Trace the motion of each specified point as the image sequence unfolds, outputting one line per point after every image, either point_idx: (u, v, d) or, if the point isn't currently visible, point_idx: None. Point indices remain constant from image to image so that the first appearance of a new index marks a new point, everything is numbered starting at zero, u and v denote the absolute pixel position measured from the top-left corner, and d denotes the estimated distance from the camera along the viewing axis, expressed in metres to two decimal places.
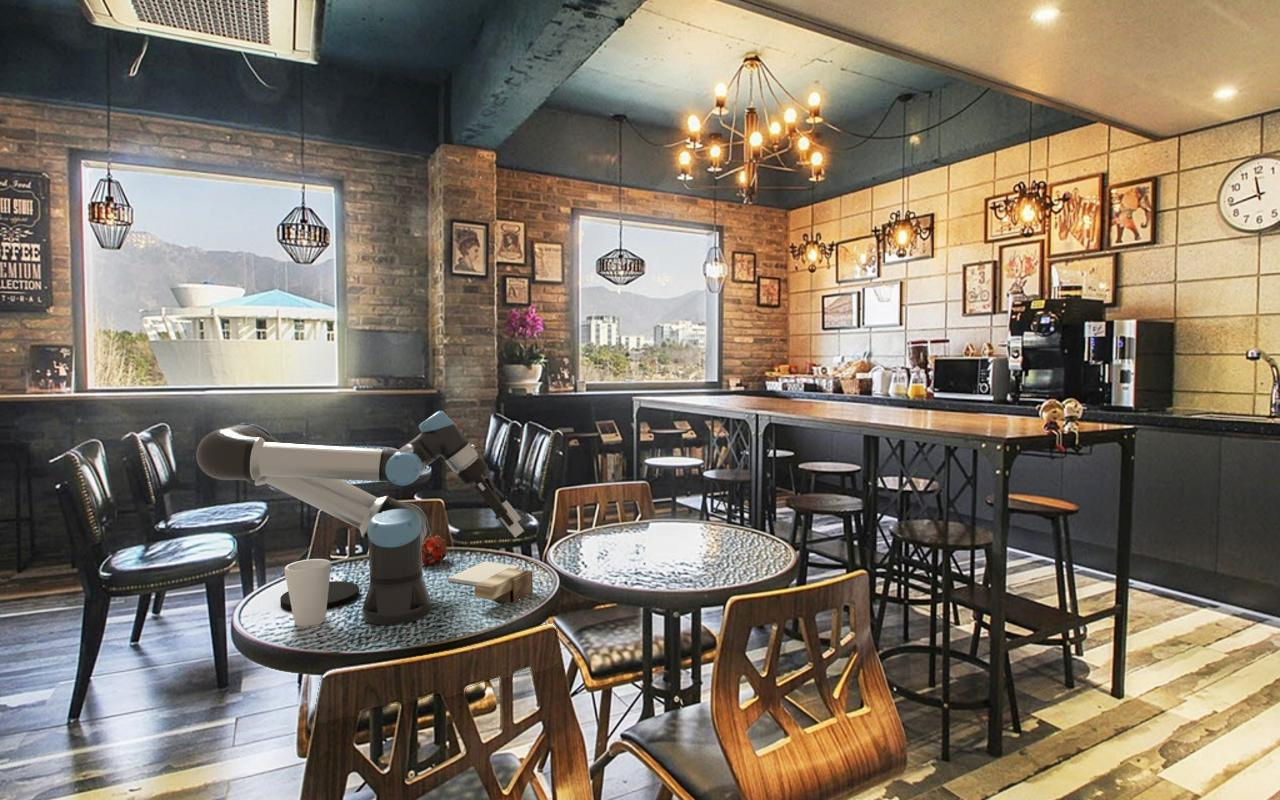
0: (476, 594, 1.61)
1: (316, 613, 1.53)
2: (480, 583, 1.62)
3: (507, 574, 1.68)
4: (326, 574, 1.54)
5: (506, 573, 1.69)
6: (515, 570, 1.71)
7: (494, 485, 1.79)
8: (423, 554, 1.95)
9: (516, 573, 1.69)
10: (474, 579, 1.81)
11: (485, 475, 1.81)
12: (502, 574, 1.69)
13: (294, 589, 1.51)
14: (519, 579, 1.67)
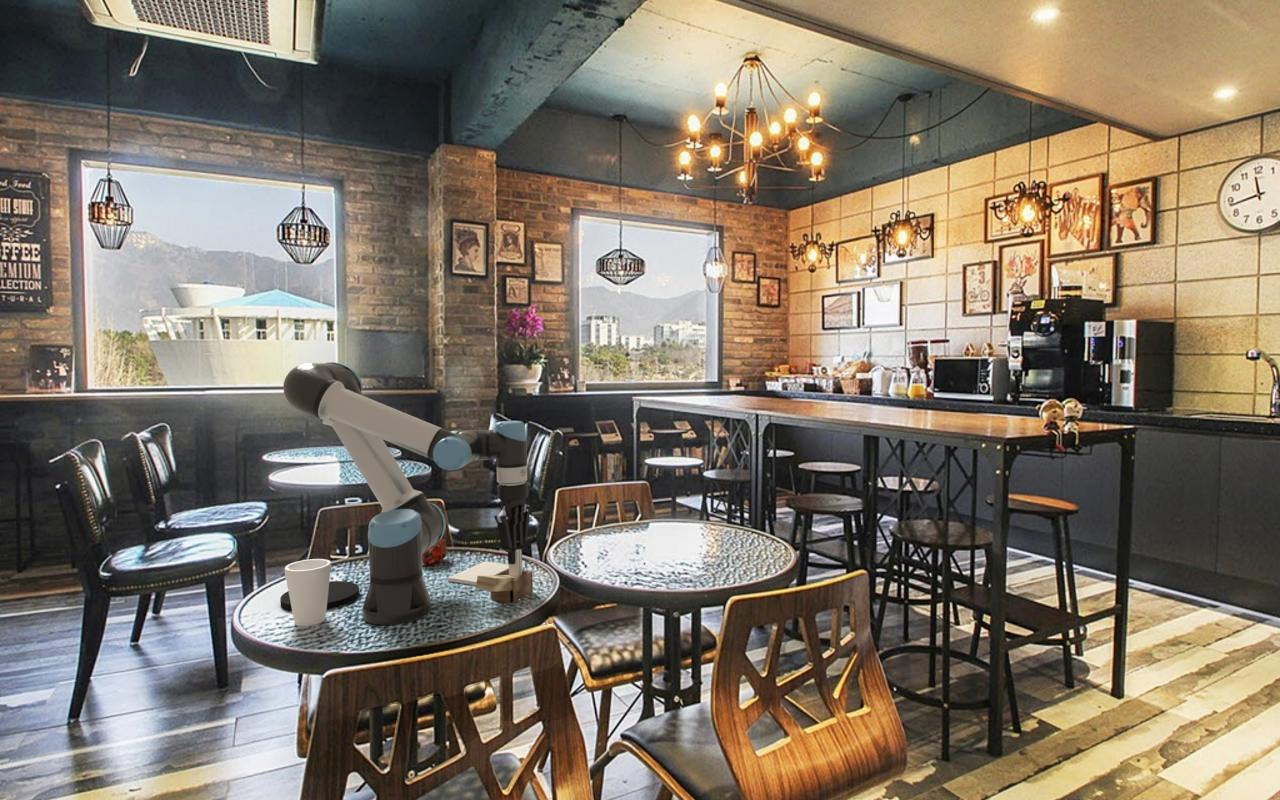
0: (477, 586, 1.61)
1: (316, 613, 1.53)
2: (482, 576, 1.63)
3: (509, 576, 1.69)
4: (326, 574, 1.54)
5: (508, 576, 1.70)
6: None
7: (521, 519, 1.71)
8: (423, 554, 1.95)
9: None
10: (474, 579, 1.81)
11: (529, 508, 1.75)
12: None
13: (294, 589, 1.51)
14: (519, 579, 1.67)
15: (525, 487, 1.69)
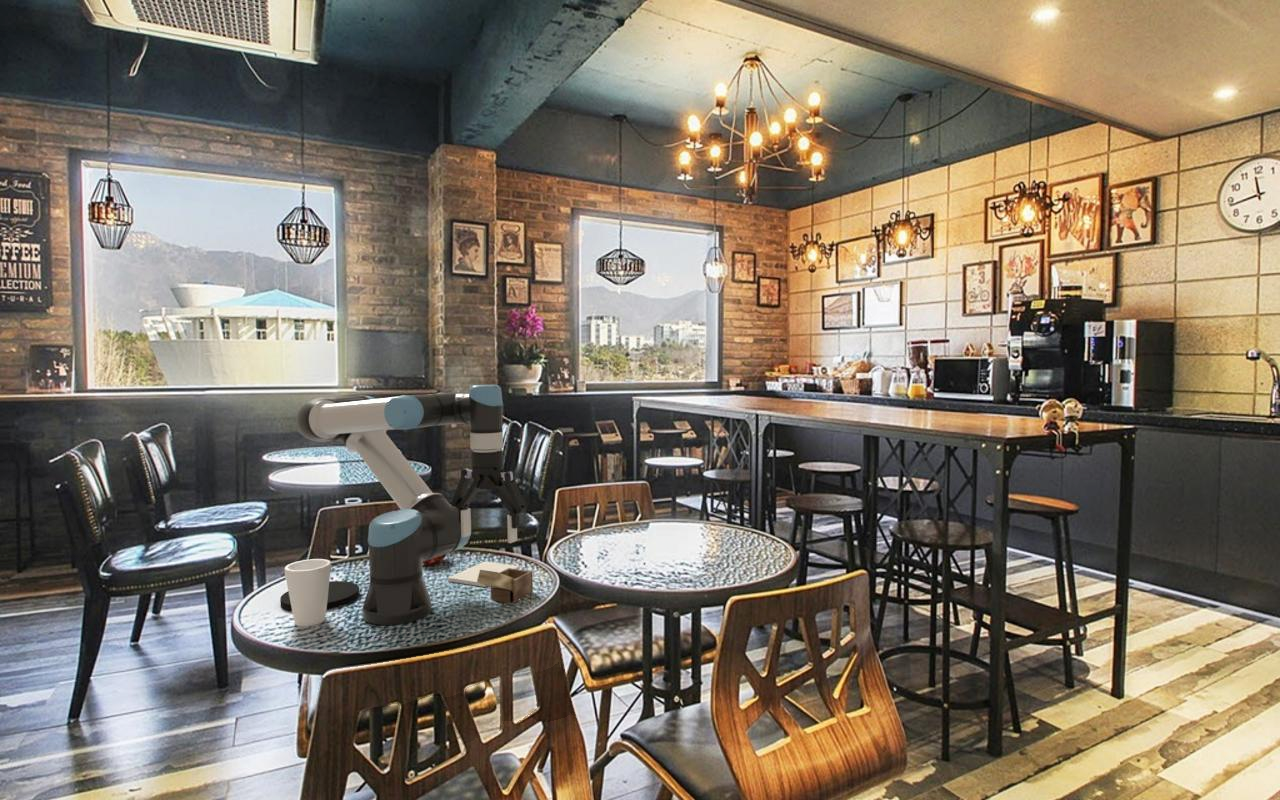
0: (478, 579, 1.62)
1: (316, 613, 1.53)
2: None
3: None
4: (326, 574, 1.54)
5: None
6: None
7: None
8: None
9: None
10: (474, 579, 1.81)
11: None
12: None
13: (294, 589, 1.51)
14: (519, 579, 1.67)
15: None
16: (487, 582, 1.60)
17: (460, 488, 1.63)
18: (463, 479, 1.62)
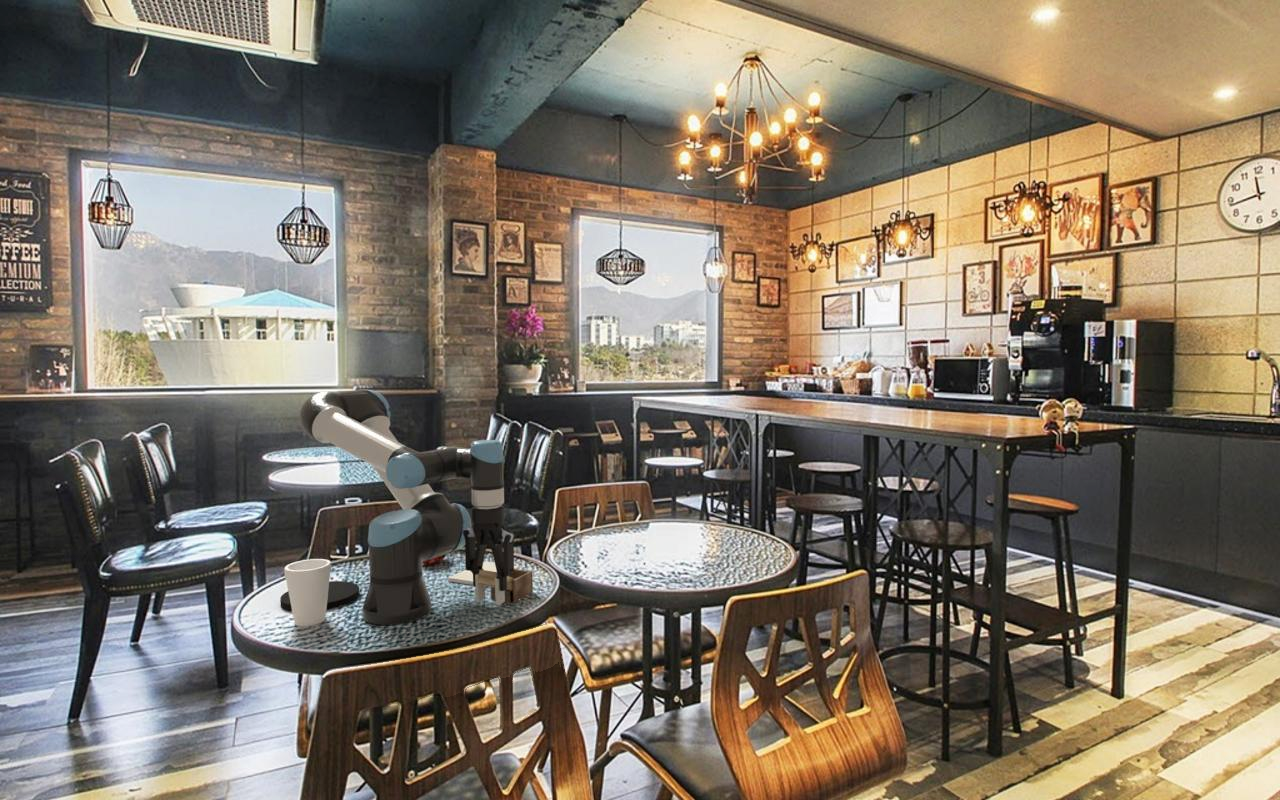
0: (478, 579, 1.62)
1: (316, 613, 1.53)
2: None
3: None
4: (326, 574, 1.54)
5: None
6: None
7: None
8: None
9: None
10: None
11: None
12: None
13: (294, 589, 1.51)
14: (519, 579, 1.67)
15: None
16: (487, 582, 1.60)
17: (468, 549, 1.63)
18: (467, 539, 1.63)
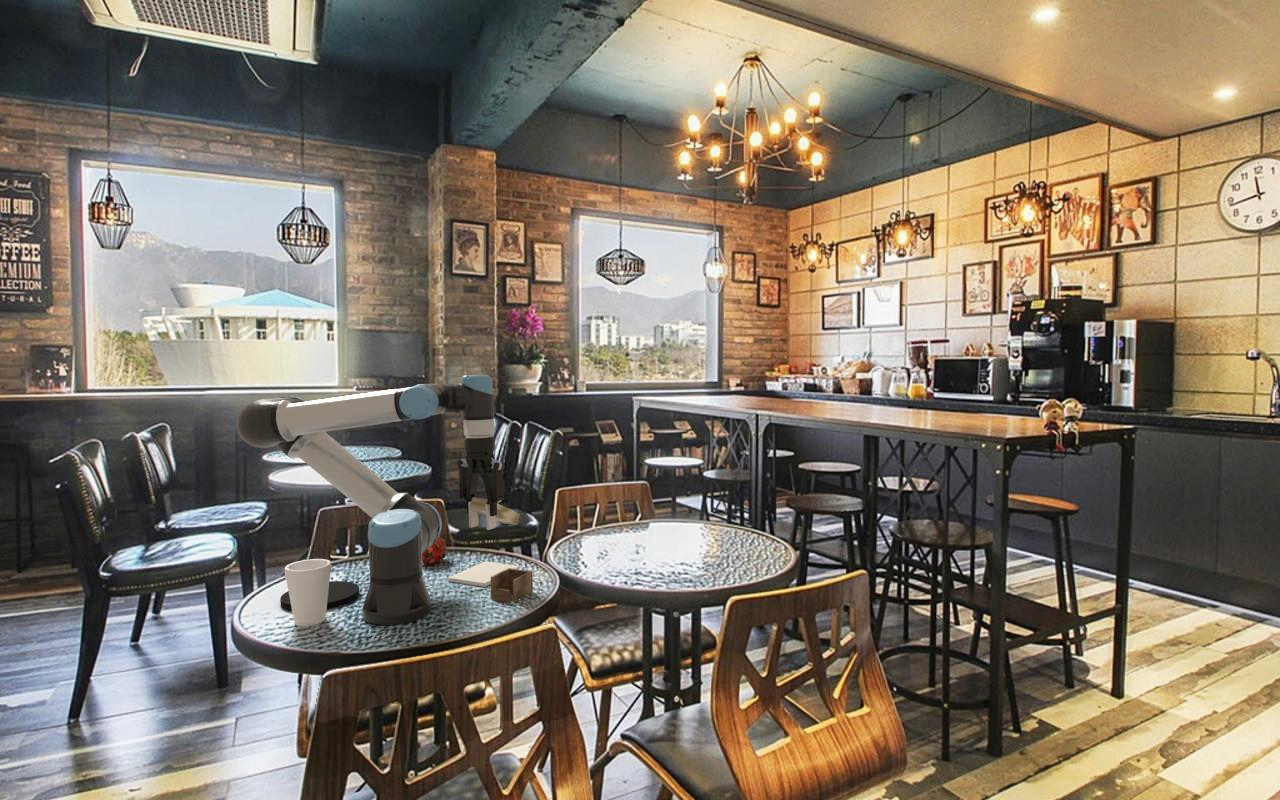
0: (471, 506, 1.71)
1: (316, 613, 1.53)
2: None
3: None
4: (326, 574, 1.54)
5: None
6: None
7: None
8: (423, 554, 1.95)
9: None
10: (474, 579, 1.81)
11: None
12: None
13: (294, 589, 1.51)
14: (519, 579, 1.67)
15: None
16: (478, 508, 1.70)
17: (462, 478, 1.73)
18: (461, 468, 1.73)
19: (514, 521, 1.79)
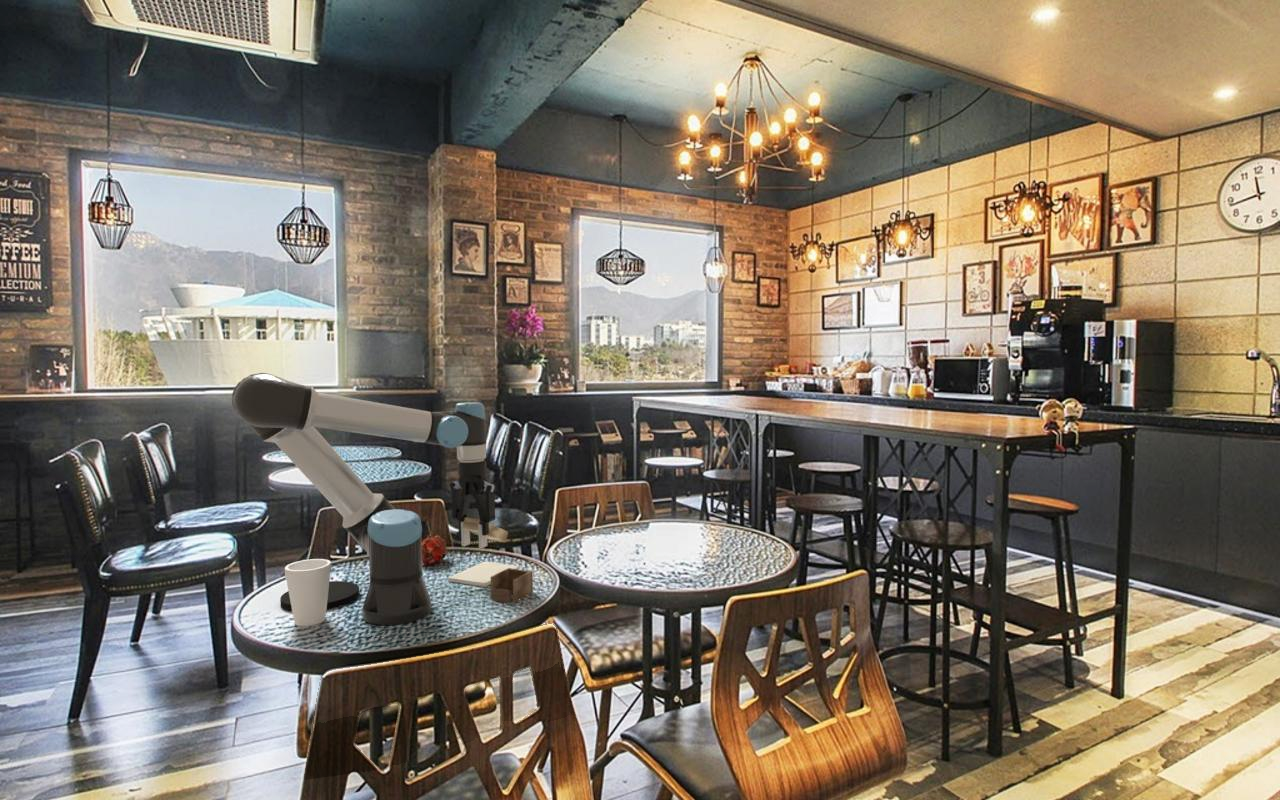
0: (464, 526, 1.82)
1: (316, 613, 1.53)
2: None
3: None
4: (326, 574, 1.54)
5: None
6: None
7: None
8: (423, 554, 1.95)
9: None
10: (474, 579, 1.81)
11: None
12: None
13: (294, 589, 1.51)
14: (519, 579, 1.67)
15: None
16: (471, 528, 1.81)
17: (454, 499, 1.83)
18: (453, 490, 1.83)
19: (503, 539, 1.90)
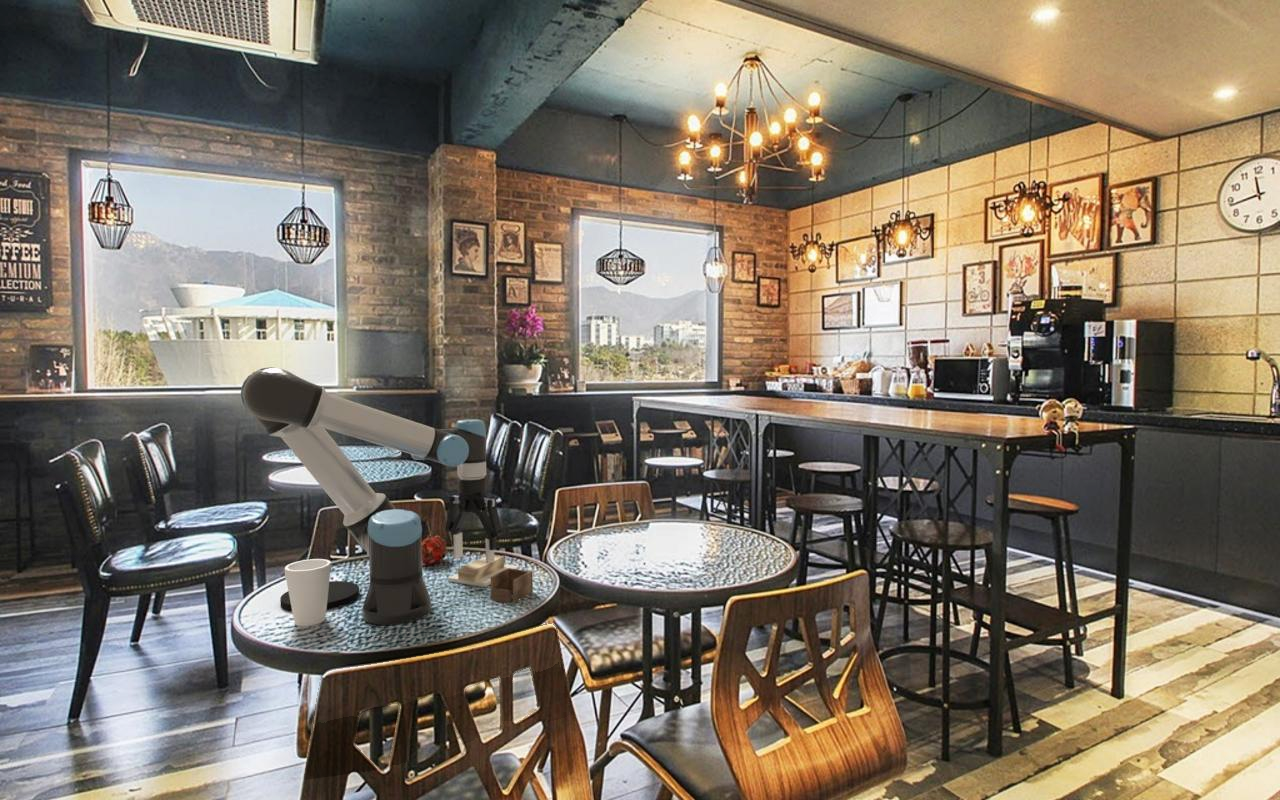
0: (459, 577, 1.80)
1: (316, 613, 1.53)
2: (462, 567, 1.81)
3: None
4: (326, 574, 1.54)
5: None
6: (495, 557, 1.91)
7: None
8: (423, 554, 1.95)
9: (495, 559, 1.89)
10: None
11: None
12: (483, 559, 1.88)
13: (294, 589, 1.51)
14: (519, 579, 1.67)
15: None
16: (467, 579, 1.79)
17: (451, 513, 1.84)
18: (452, 504, 1.83)
19: (501, 566, 1.90)
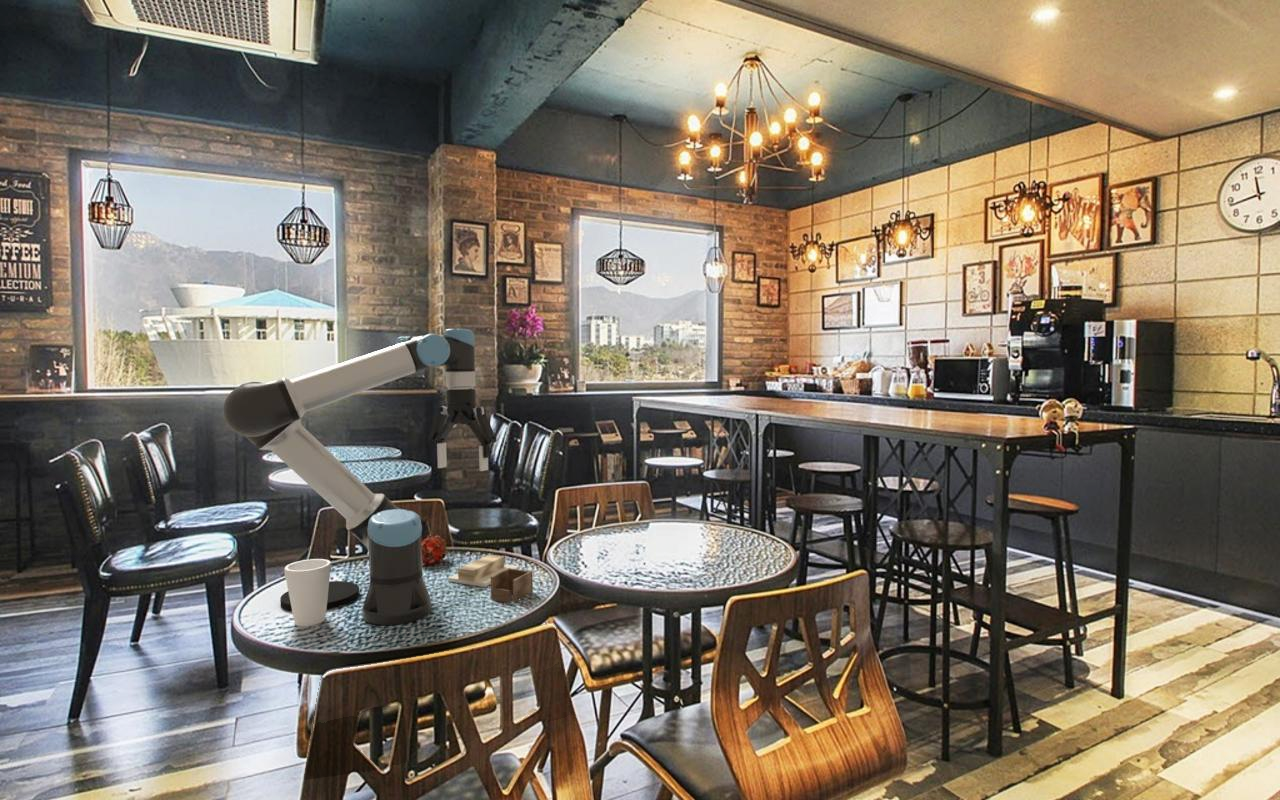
0: (459, 577, 1.80)
1: (316, 613, 1.53)
2: (462, 567, 1.81)
3: (487, 560, 1.88)
4: (326, 574, 1.54)
5: (486, 559, 1.89)
6: (495, 557, 1.91)
7: None
8: (423, 554, 1.95)
9: (495, 559, 1.89)
10: None
11: None
12: (483, 559, 1.88)
13: (294, 589, 1.51)
14: (519, 579, 1.67)
15: None
16: (467, 579, 1.79)
17: (437, 423, 1.80)
18: (439, 415, 1.79)
19: (501, 566, 1.90)
